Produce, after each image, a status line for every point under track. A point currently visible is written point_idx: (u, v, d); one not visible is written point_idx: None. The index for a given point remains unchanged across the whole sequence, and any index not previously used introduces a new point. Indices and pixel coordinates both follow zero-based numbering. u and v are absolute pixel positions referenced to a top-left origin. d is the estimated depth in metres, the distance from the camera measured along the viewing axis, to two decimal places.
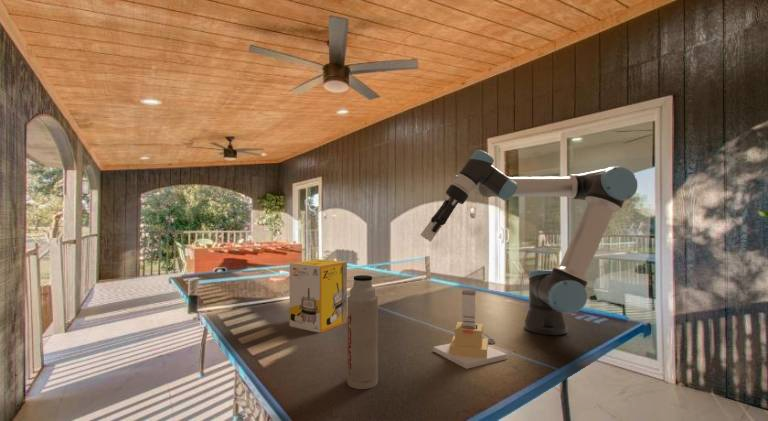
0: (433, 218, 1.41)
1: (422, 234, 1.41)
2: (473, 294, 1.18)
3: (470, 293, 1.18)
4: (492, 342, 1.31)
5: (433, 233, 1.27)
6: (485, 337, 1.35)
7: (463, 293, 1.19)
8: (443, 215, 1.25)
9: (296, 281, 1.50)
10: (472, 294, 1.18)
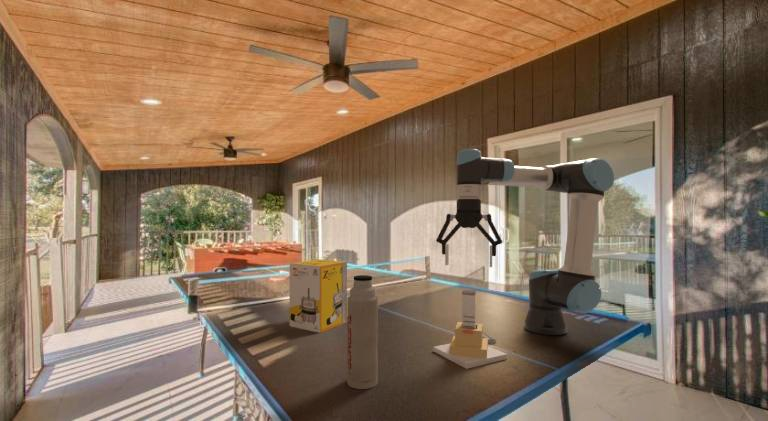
0: (447, 240, 1.21)
1: (447, 263, 1.22)
2: (473, 294, 1.18)
3: (470, 293, 1.18)
4: (493, 342, 1.31)
5: None
6: (486, 337, 1.35)
7: (463, 293, 1.19)
8: (499, 236, 1.17)
9: (296, 281, 1.50)
10: (472, 294, 1.18)
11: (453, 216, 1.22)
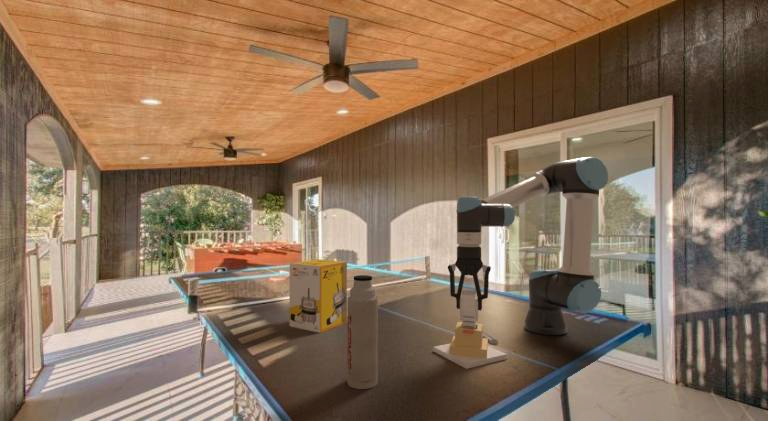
0: (460, 293, 1.20)
1: None
2: (473, 294, 1.18)
3: (470, 293, 1.18)
4: (495, 343, 1.30)
5: None
6: (488, 338, 1.35)
7: (463, 293, 1.19)
8: (487, 291, 1.18)
9: (296, 281, 1.50)
10: (472, 294, 1.18)
11: (454, 265, 1.21)
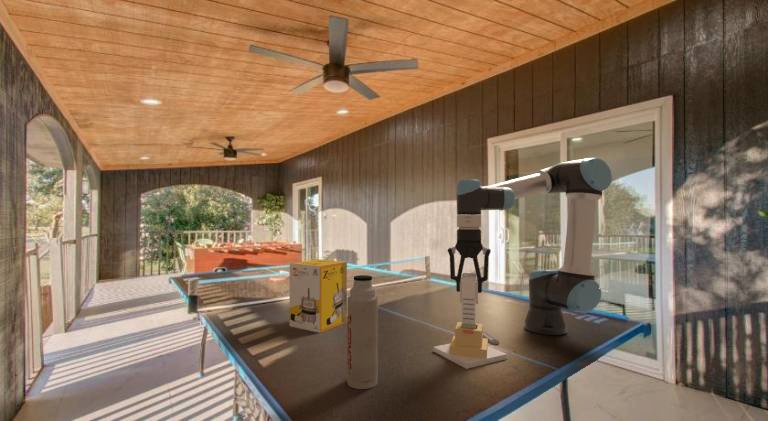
0: (460, 276, 1.20)
1: None
2: (473, 276, 1.18)
3: (470, 276, 1.18)
4: (496, 343, 1.30)
5: None
6: (489, 338, 1.34)
7: (463, 276, 1.19)
8: (487, 273, 1.18)
9: (296, 281, 1.50)
10: (472, 276, 1.18)
11: (454, 248, 1.21)
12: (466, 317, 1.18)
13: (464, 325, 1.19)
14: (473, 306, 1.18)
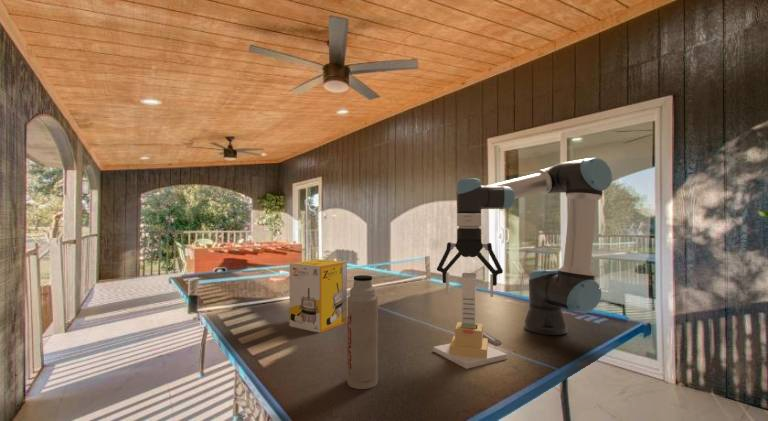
0: (448, 269, 1.21)
1: (448, 292, 1.21)
2: (473, 276, 1.18)
3: (470, 275, 1.18)
4: (498, 343, 1.30)
5: None
6: (491, 338, 1.34)
7: (463, 275, 1.19)
8: None
9: (296, 281, 1.50)
10: (472, 276, 1.18)
11: (453, 245, 1.21)
12: (466, 317, 1.18)
13: (464, 325, 1.19)
14: (473, 306, 1.18)
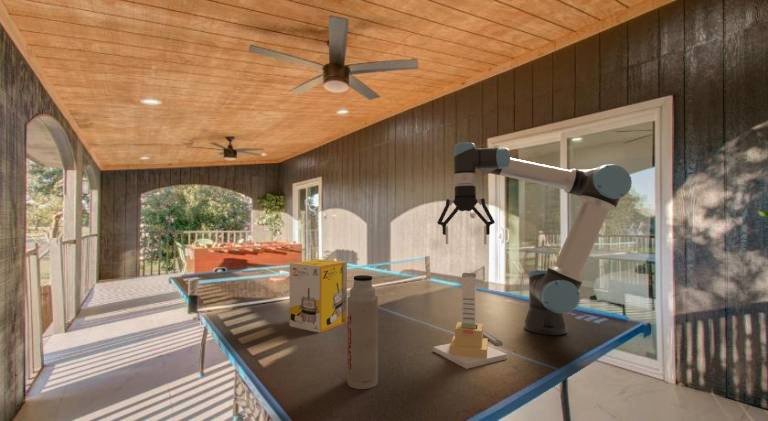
0: (447, 222, 1.39)
1: (447, 242, 1.39)
2: (473, 276, 1.18)
3: (470, 275, 1.18)
4: (499, 343, 1.29)
5: None
6: (492, 338, 1.34)
7: (463, 275, 1.19)
8: None
9: (296, 281, 1.50)
10: (472, 276, 1.18)
11: (452, 201, 1.39)
12: (466, 317, 1.18)
13: (464, 325, 1.19)
14: (473, 306, 1.18)
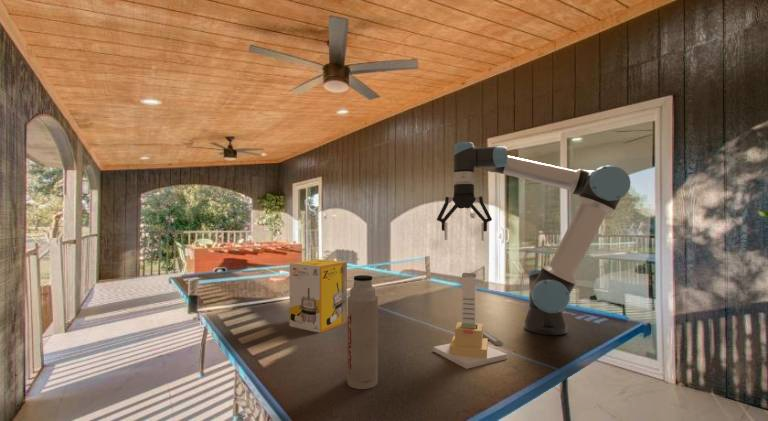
0: (446, 219, 1.45)
1: (446, 238, 1.45)
2: (473, 276, 1.18)
3: (470, 275, 1.18)
4: (500, 344, 1.29)
5: None
6: (492, 339, 1.34)
7: (463, 275, 1.19)
8: (489, 214, 1.41)
9: (296, 281, 1.50)
10: (472, 276, 1.18)
11: (451, 198, 1.45)
12: (466, 317, 1.18)
13: (464, 325, 1.19)
14: (473, 306, 1.18)
